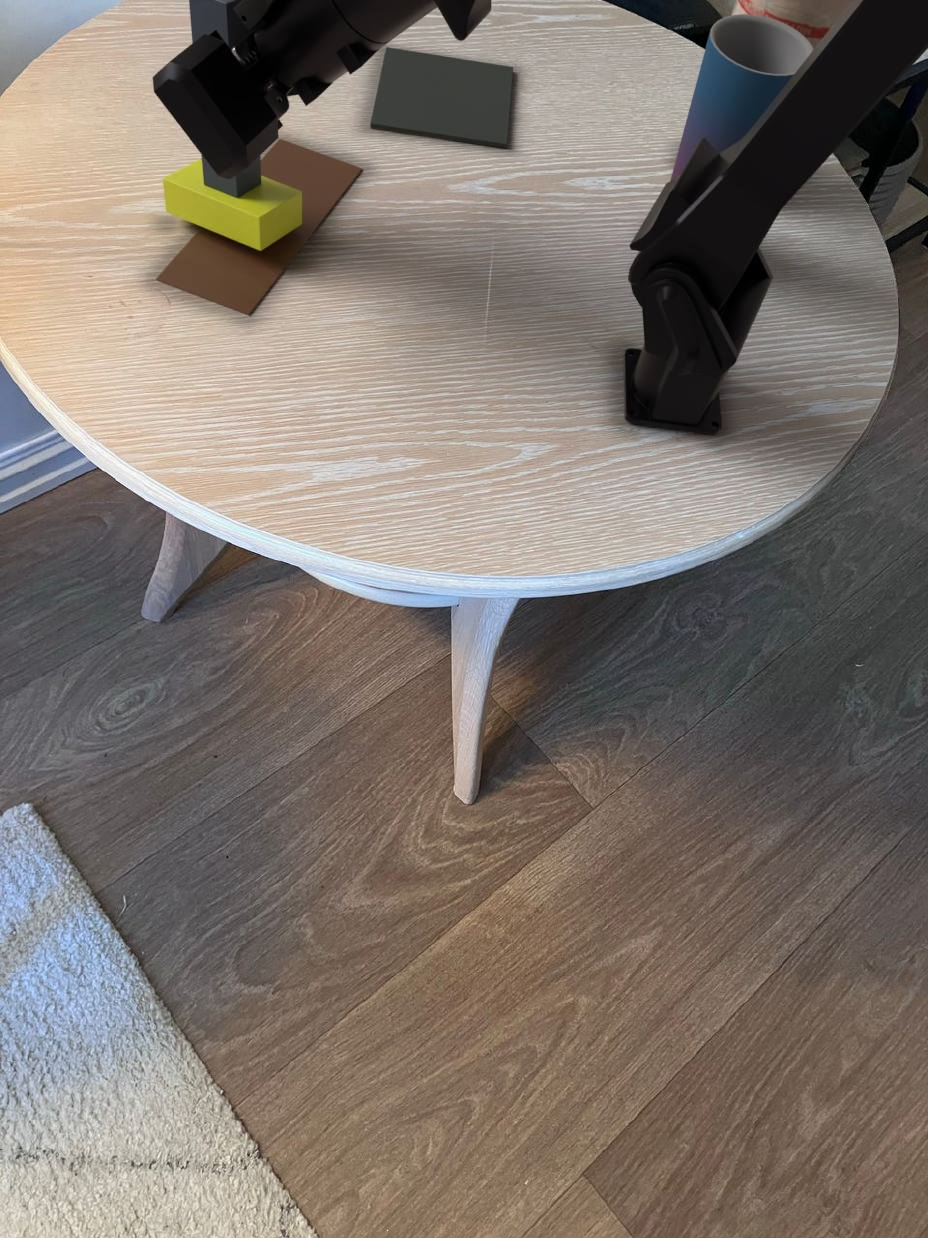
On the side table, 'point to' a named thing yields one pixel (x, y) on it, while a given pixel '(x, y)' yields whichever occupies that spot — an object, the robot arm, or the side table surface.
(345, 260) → the side table surface
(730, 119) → the cup
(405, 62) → the mat
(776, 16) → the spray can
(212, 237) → the brown rectangular board
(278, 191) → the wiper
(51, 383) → the side table surface
